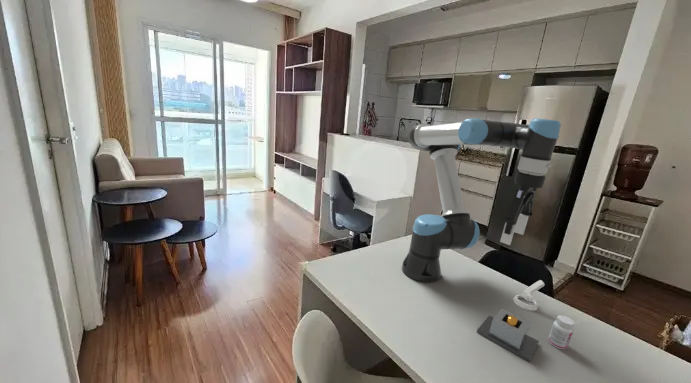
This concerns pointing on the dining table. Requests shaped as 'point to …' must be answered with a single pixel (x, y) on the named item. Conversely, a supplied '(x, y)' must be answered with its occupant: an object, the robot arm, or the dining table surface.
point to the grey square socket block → (509, 329)
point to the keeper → (523, 352)
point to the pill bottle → (561, 332)
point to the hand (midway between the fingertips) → (512, 238)
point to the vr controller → (529, 296)
